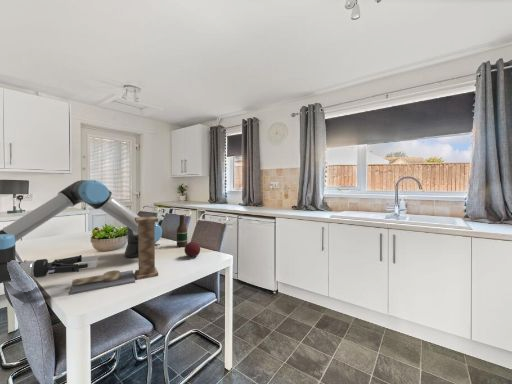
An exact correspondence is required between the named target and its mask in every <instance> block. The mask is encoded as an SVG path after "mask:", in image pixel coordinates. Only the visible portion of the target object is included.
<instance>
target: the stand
mask: <svg viewBox="0 0 512 384" xmlns="http://www.w3.org/2000/svg"><path fill="white" fill-rule="evenodd" d="M135 222H136V223H138V253H139V257H138V269H135V271H134V272H135V274H134V275H135V277H136V278H135V279H136V280H144V279H149V278H154V277H158V276H159V272H158V269H157V267H156V266H155V265H156V264H155V263H156V262H155V258H156V257H155V256H156V249H155V247H156V246H155V224H156V223H158V222H159V218H158V217H156V216H139V217H135Z"/></svg>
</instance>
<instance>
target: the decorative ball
mask: <svg viewBox="0 0 512 384" xmlns="http://www.w3.org/2000/svg"><path fill="white" fill-rule="evenodd" d="M200 252H201V246H200V244H199V243H198V242H197V241H190V242H187V245H186V246H185V247H184V254H185V255H186V256H187V257H188V258H195V257H197V256H198V255H200Z"/></svg>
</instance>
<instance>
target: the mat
mask: <svg viewBox="0 0 512 384" xmlns="http://www.w3.org/2000/svg"><path fill="white" fill-rule="evenodd" d="M135 277H136V276H135V274H134V270H133V269H131V270H126V271H120V279H118V280H116V281H112V282H104V280H102V281H96V282H90V283H85V284H79V285H73V286H72V288H71V290H70V295H75V294H80V293H85V292H90V291H97V290H102V289H108V288H112V287H118V286H123V285H128V284H134V283H136V278H135Z"/></svg>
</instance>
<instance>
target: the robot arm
mask: <svg viewBox="0 0 512 384" xmlns="http://www.w3.org/2000/svg"><path fill="white" fill-rule="evenodd" d="M80 203H85V204H87V206H90V207H91V208H93V209H95V210H102V212H104V213H106V214H107V215H109V216H110V217H112V218H113V219H115V220H116V221H118V222H119V223H120V224H122V225H123V226H125V227H126V228H127V229H126V231H127V233H126V234H127V244H126V248H125V251H124V257H125V258H127V259H136V258H137V259H139V253H138V223H136V222H135V217H140V215H138V214H137V213H135V212H134V211H133V210H132V209H130V208H128V206H126V205H125V204H123V203H122V202H121V201H119V200H118V199H116V198H115V197H114V196H113V192H112V191H110V190H109V187H108V186H107V185H106V184H105V183H104V182H102V181H100V180H95V179H88V180H87V179H85V180H84V179H83V180H82V179H81V180H77V181H75V182H73V183H71V184H69V185H68V186H66V187H64V188H63V189H62V190H60V191H59V192H57V195H56V196H54V197H53V198H51V199H49V200H48V201H46V202H44V203H43V204H41V205H39V206H38V207H36V208H35V209H33V210H31V211H29V212H28V213H27V214H25V215H23V216H22V217H20V218H19V219H17V220H15V221H14V222H12V223H10V224H9V225H7V226H5V227H3V228H2V229H0V284H4V283H10V282H12V281H11V278H10V275H9V272H8V270H7V262H10V261H11V260H15V261H16V255H17V254H16V243H17V242H18V241H19V240H21V239H22V238H24V237H26V236H27V235H29V233H31V232H33V231H34V230H36V229H37V228H39V227H40V226H42V225H43V224H45V223H47V222H48V221H50V220H51V219H53V218H54V217H56V216H57V215H59V214H60V213H62V212H63V211H65V210H67V209H68V208H73V207H74V206H76V205H78V204H80ZM159 225H160V224H156V223H155V242H156V243H157V242H159V240H160V239H161V238H162V236H163V235H162V234H163V228H162V226H161V227H160V226H159ZM98 261H99V254H95V255H86V256H82V254H80V255H76V256H70V257H64V258H58V259H54V260H53V261H51V262H49V260H48V259H47V258H42V259H36V260H34V259H33V260H27V259H25V260H23V261H18V263H19V264H20V266H21V268H22V269H23V270H24V271H25V272H26V273H27V274H28V275H29V276H30V277H31V278H32V279H34V278H36V279H37V278H44V277H46V276H47V275H53V274H54V275H56V274H65V273H75V272H76V273H78V272H80V270H85V269H91V268H97V266H98ZM16 262H17V261H16Z"/></svg>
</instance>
